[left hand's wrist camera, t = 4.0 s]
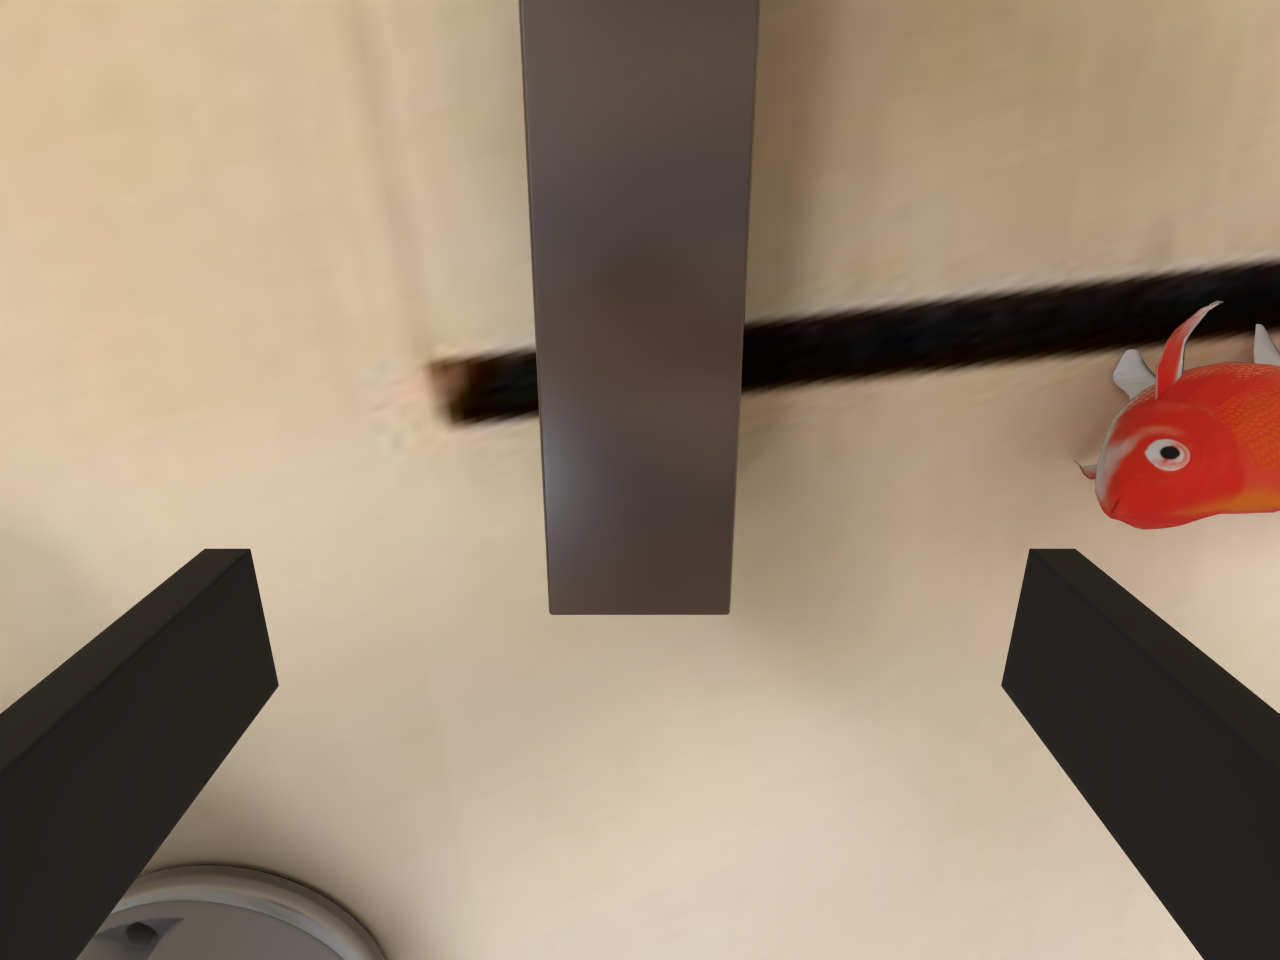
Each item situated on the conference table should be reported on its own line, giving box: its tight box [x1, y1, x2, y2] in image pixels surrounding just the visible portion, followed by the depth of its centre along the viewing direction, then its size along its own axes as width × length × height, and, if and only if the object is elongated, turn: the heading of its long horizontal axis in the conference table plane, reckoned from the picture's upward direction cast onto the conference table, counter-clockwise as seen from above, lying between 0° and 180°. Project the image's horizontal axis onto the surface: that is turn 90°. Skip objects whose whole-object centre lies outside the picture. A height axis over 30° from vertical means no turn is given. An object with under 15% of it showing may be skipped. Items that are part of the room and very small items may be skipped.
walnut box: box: [519, 0, 760, 615], centre depth 19 cm, size 30×5×8 cm, turn 0°
